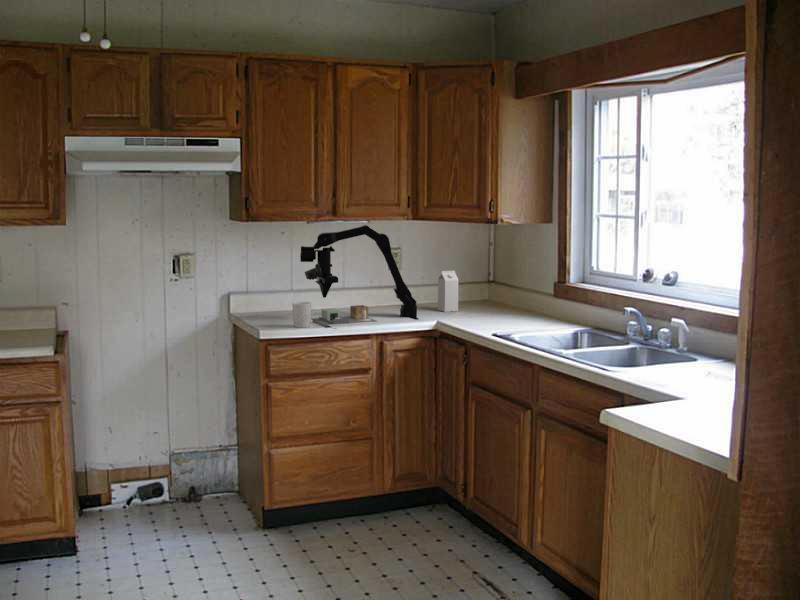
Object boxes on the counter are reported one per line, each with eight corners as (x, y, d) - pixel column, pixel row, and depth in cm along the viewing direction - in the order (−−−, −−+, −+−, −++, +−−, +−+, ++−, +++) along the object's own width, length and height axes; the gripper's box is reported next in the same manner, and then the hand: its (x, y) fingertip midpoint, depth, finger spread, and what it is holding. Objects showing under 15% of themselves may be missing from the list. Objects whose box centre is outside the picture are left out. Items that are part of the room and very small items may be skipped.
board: (363, 318, 394) (363, 307, 394) (378, 324, 380) (378, 311, 379) (312, 322, 384) (312, 310, 383) (325, 327, 370) (325, 315, 369)
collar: (362, 316, 394) (362, 305, 393) (368, 318, 388) (368, 306, 388) (350, 317, 391) (350, 305, 390) (355, 319, 386) (355, 307, 385)
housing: (334, 317, 388) (334, 308, 387) (340, 319, 381) (340, 310, 381) (321, 318, 385) (321, 309, 384) (327, 320, 379) (327, 311, 378)
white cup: (302, 324, 378) (301, 301, 377) (315, 326, 373) (315, 302, 372) (288, 326, 372) (288, 303, 371) (301, 328, 367) (301, 304, 366)
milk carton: (437, 310, 421) (438, 270, 419) (450, 309, 424) (451, 269, 422) (444, 312, 415) (445, 271, 412) (458, 311, 418) (458, 271, 415)
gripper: (299, 260, 392) (299, 295, 394) (314, 264, 375) (314, 301, 377) (322, 259, 397) (323, 294, 399) (338, 263, 380) (338, 299, 382)
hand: (324, 297), depth 389 cm, fingers closed
